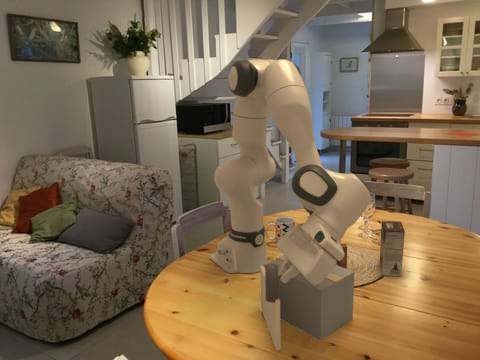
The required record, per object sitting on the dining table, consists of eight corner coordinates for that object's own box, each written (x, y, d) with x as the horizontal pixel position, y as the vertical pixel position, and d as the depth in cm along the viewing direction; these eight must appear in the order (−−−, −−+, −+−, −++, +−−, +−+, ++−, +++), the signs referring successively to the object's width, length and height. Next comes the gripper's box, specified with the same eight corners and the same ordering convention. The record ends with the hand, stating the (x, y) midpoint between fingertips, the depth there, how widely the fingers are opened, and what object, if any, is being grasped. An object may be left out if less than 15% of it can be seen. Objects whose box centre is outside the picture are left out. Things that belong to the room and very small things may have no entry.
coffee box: (378, 263, 147) (381, 220, 143) (398, 264, 146) (401, 221, 142) (381, 275, 139) (384, 229, 135) (402, 277, 137) (405, 230, 133)
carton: (263, 309, 120) (262, 263, 117) (296, 292, 129) (296, 249, 126) (321, 341, 106) (322, 289, 102) (353, 319, 115) (355, 271, 111)
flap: (254, 309, 119) (252, 239, 114) (264, 308, 119) (263, 238, 114) (268, 351, 101) (267, 270, 96) (280, 349, 101) (279, 269, 96)
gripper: (293, 213, 108) (258, 254, 108) (329, 242, 88) (286, 292, 88) (309, 228, 110) (275, 268, 110) (348, 259, 91) (306, 307, 91)
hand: (280, 279), depth 99 cm, fingers closed, pressing on flap
